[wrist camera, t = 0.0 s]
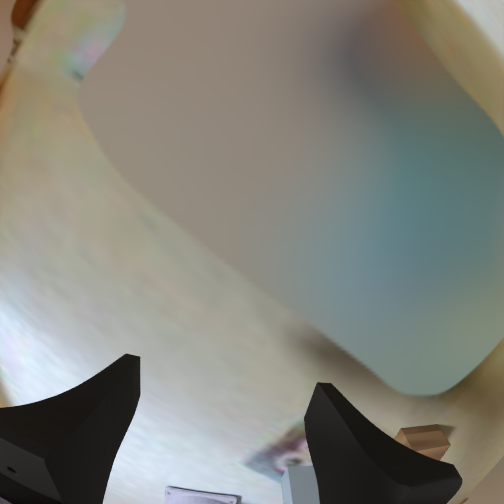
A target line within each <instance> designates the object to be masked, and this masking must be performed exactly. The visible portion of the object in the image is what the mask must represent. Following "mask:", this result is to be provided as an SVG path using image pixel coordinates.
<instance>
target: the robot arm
mask: <svg viewBox="0 0 504 504" xmlns="http://www.w3.org/2000/svg"><path fill="white" fill-rule="evenodd" d="M139 398H140V357H139V356H135V355H130V354H125V355H123V356H122V357H120V358H119V359H118V360H116V361H115V362H113V363H112V364H111V365H109V366H108V367H106V368H105V369H104V370H102V371H101V372H99V373H98V374H96V375H95V376H93V377H92V378H90V379H88V380H87V381H85V382H83V383H82V384H80V385H78V386H76V387H74V388H72V389H70V390H68V391H66V392H64V393H61V394H59V395H56V396H53V397H50V398H47V399H44V400H41V401H38V402H34V403H30V404H25V405H20V406H14V407H5V408H0V504H103V499H104V495H105V491H106V487H107V483H108V479H109V476H110V472H111V469H112V465H113V462H114V459H115V457H116V454H117V452H118V449H119V447H120V445H121V443H122V441H123V438H124V436H125V434H126V432H127V430H128V428H129V425H130V423H131V421H132V419H133V416H134V414H135V411H136V408H137V405H138V401H139ZM304 421H305V432H306V439H307V443H308V448H309V452H310V456H311V459H312V463H313V467H314V471H315V475H316V479H317V485H318V492H319V501H320V504H447V502H448V501H449V500H450V499H451V498H452V497H453V496H454V495H455V494H456V493H457V491H458V490H459V489H460V487H461V485H462V478H461V476H460V475H459V473H458V471H457V470H456V468H455V466H454V465H453V464H449V463H446V462H442V461H439V460H436V459H433V458H430V457H428V456H425V455H423V454H421V453H418V452H416V451H414V450H412V449H410V448H408V447H406V446H405V445H403V444H401V443H399V442H398V441H396V440H394V439H393V438H391V437H390V436H388V435H387V434H386V433H384V432H383V431H381V430H380V429H379V428H377V427H376V426H375V425H374V424H373V423H371V422H370V421H369V420H368V419H367V418H366V417H364V416H363V415H362V414H361V413H360V412H359V411H358V410H357V409H356V408H355V407H354V406H353V405H352V404H351V403H350V402H349V401H348V400H347V399H346V398H345V397H344V396H343V395H342V394H341V393H340V392H339V391H338V390H337V389H336V388H335V387H334V386H333V385H332V384H331V383H319V382H317V384H316V387H315V390H314V392H313V395H312V398H311V401H310V403H309V406H308V409H307V411H306V414H305V417H304ZM236 503H237V497H235V496H228V495H218V494H210V493H203V492H196V491H189V490H183V489H178V488H172V487H166V488H165V504H236Z"/></svg>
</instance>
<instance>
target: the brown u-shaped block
mask: <svg viewBox="0 0 504 504" xmlns="http://www.w3.org/2000/svg"><path fill="white" fill-rule="evenodd" d="M394 440H396V441H398V442H399V443H401V444H403V445H405V446H406V447H408V448H410V449H412V450H414V451H416V452H418V453H421V454H423V455H425V456H428V457H430V458H433V459H436V460H439V461H440V459H441V458H442V457H443V455H444V454H445V452H446V451H447V450H448V448H449V447H450V445H451V444H450V443H449V441H448V440H447V438H446V437H445V435H444V434H443V432H442V431H441V429H440V428H439V426H438V425H429V426H421V427H412V428H401V429H400V431H399V433H398V434H397V436H396V438H395V439H394Z"/></svg>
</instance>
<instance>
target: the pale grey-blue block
mask: <svg viewBox="0 0 504 504" xmlns="http://www.w3.org/2000/svg"><path fill="white" fill-rule="evenodd" d="M281 486H282V494H283V503H284V504H320V501H319V492H318V485H317V479H316V475H315V471H314V467H313V466H287V468H286V470H285V473H284V475H283V477H282V479H281Z"/></svg>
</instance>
